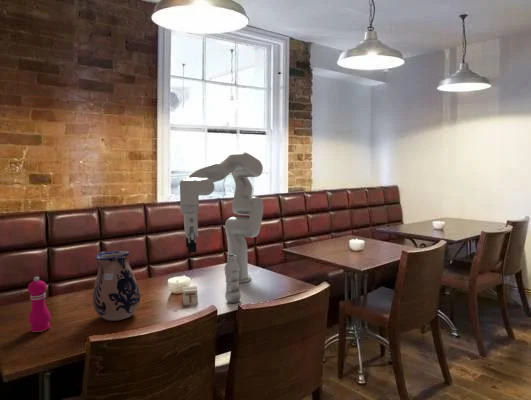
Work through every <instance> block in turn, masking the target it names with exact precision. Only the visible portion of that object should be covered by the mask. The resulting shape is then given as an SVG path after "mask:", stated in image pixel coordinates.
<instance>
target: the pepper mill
mask: <svg viewBox="0 0 531 400" xmlns="http://www.w3.org/2000/svg"><path fill="white" fill-rule="evenodd" d="M47 287H48V285H47V283H46V282H45V281H43V280H40V276H34V277H33V281H31V282H30V283H29V284H28V286H27V291H28V293H29V294H30V295H29V298H30V300H31V309H30V313H29V315H28V323H29V324H30V325H31V326H30V332H31V331H42V330H45V329H48V328H49V327H50V328H51V323H50V320H51V319H52V316H51V312H50V309H48V307H47V305H46V300H45V299H46V297H47V293H46V290H47Z"/></svg>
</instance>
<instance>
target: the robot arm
mask: <svg viewBox="0 0 531 400" xmlns="http://www.w3.org/2000/svg"><path fill="white" fill-rule="evenodd" d="M263 169H264V167H263V164H262V162H261V161H260V160H259V159H258V158H256V157H255V156H254V155H252V154H250V153H248V152H245V151H234V152H233V151H232V152H230V151H229V152H226V153H224V154H223V155H221V156H220V157H219V158H217V160H215V161H214V162H213V163H212V164H209V165H207V166H204V167H201V168H199V169H196V170H195V171H194V170H193V172H191V173H190V174H188V175H187V176H186V177H185V178H184V179H181V180H180V181H179V197H180V198H179V199H180V205H179V207H180V214H183V225H184V234H185V245H186V246H185V247H186V248H187V249H188V250H187V251H188V253H189V254H190V253H196V252H197V242H196V241H197V240H196V239H197V237H199V225H198V224H199V222H198V213H200V200H199V197H200V196H203V197H204V196H205V197H207V196H209V195H212V193H214V190H215V183H216V182H219V181H220V182H221V181H222V180H224V179H226V178H227V177H228V176H229V175H230V174H231V176H232V178H233V180H234V183H235V190H234V195H233V201H232V206H231V209H232V212H233V214H235V215H238V216H230V217H229V218H228V219H226V221H225V223H224V224H225V225H224V229H225V234H226V239H227V256H228V255H236V260H235V261H236V262H237V264H238V265H239V280H238V281H239V284H243V283H247V282H250V281H251V280H252V276H251V275H250V274H248V273H249V270H248V268H249V267H248V266H249V265H248V244H247V241H246V239H245V238H255V237H257V236H258V235H259V234H260V231H261V227H262V220H263V214H264V208H265V207H264V206H265V205H264V201H263V200H262V198H261V197H259V196H255V195H253V185H252V183H251V181H250V180H249V178H258V177H260V176H261V175H262V174H263V171H264V170H263ZM239 215H241V216H239ZM245 216H246V217H245ZM247 216H249V217H247Z"/></svg>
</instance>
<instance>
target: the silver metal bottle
mask: <svg viewBox="0 0 531 400" xmlns="http://www.w3.org/2000/svg"><path fill="white" fill-rule="evenodd" d="M226 258H227V259H226V261H227V262H226V263H225V265H224V268H223V269H224V275H225V295H224V297H225V301H226V302H227V303H229V304H230V303H231V304H234V303H238V302H240V300H241V297H242V296H241V291H240V283H239V281H238V280H239V265H238V264H237V262H236V261H235V260H236V255H228V254H227V256H226Z"/></svg>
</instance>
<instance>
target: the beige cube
mask: <svg viewBox="0 0 531 400" xmlns="http://www.w3.org/2000/svg"><path fill="white" fill-rule="evenodd" d="M198 296H199V295H198V286H197V285H190V286H189V285H188V286H182V302H183V303H182V305H183V306H191V305H198V304H199V299H198Z"/></svg>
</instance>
